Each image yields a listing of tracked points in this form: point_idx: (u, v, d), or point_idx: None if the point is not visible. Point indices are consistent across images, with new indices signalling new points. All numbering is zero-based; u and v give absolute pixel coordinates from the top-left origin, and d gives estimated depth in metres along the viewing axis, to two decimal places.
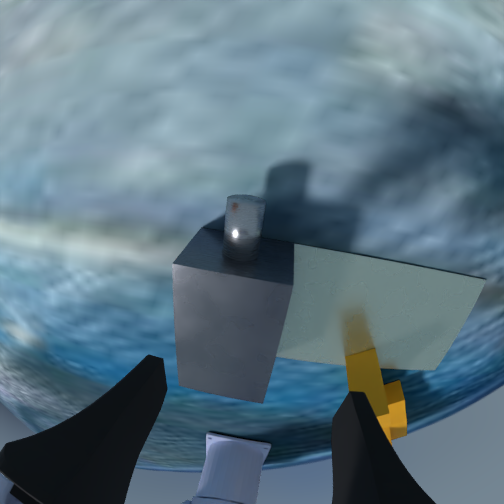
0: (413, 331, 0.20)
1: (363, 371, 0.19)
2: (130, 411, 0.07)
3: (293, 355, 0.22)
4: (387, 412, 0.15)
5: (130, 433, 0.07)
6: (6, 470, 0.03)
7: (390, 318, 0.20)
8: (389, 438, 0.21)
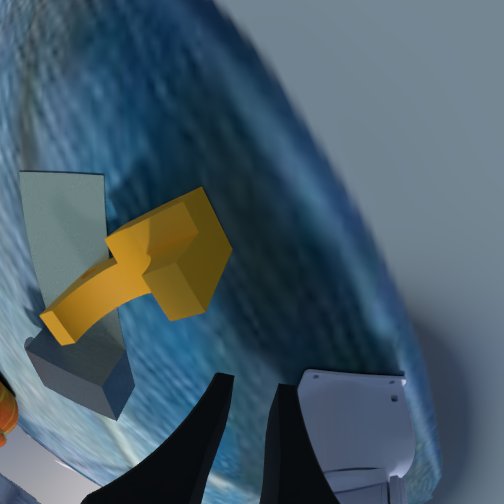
0: (65, 234, 0.20)
1: None
2: (213, 435, 0.07)
3: (119, 333, 0.23)
4: None
5: (209, 457, 0.07)
6: None
7: (62, 260, 0.21)
8: None
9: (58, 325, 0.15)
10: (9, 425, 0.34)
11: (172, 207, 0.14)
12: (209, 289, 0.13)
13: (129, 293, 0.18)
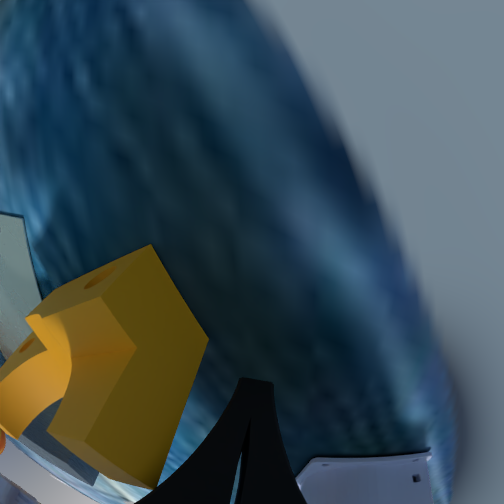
0: (0, 287, 0.12)
1: None
2: (243, 441, 0.07)
3: None
4: None
5: None
6: None
7: (5, 316, 0.14)
8: None
9: None
10: None
11: (86, 303, 0.07)
12: (161, 446, 0.06)
13: None
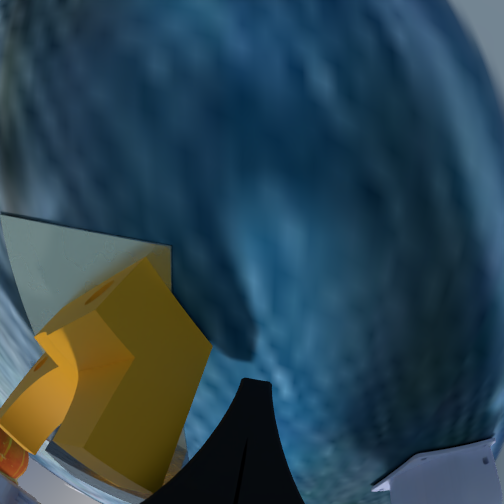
0: None
1: None
2: (246, 441, 0.07)
3: (181, 438, 0.16)
4: None
5: None
6: None
7: None
8: None
9: (11, 435, 0.08)
10: (20, 471, 0.27)
11: (84, 317, 0.07)
12: (164, 452, 0.06)
13: None
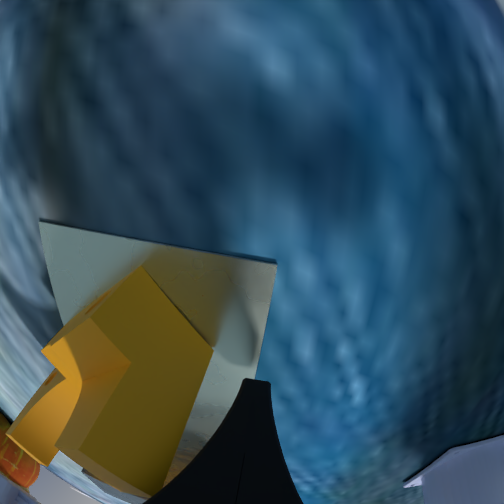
0: None
1: None
2: (247, 442, 0.07)
3: None
4: (7, 433, 0.09)
5: None
6: None
7: None
8: (82, 399, 0.07)
9: (24, 448, 0.08)
10: (31, 480, 0.27)
11: (81, 325, 0.07)
12: (163, 456, 0.06)
13: None
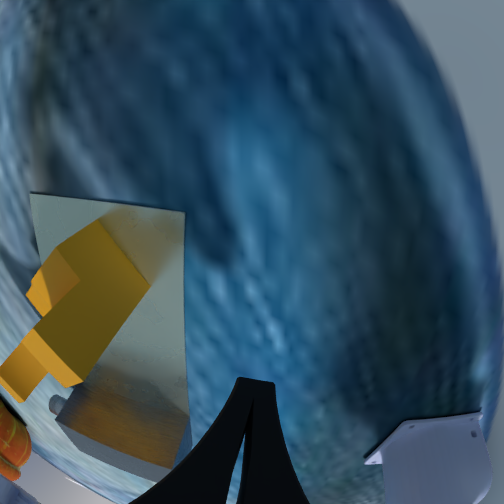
0: None
1: None
2: (240, 441, 0.07)
3: (184, 402, 0.18)
4: None
5: None
6: None
7: None
8: None
9: (7, 385, 0.11)
10: (23, 459, 0.29)
11: (50, 255, 0.10)
12: (94, 350, 0.09)
13: None
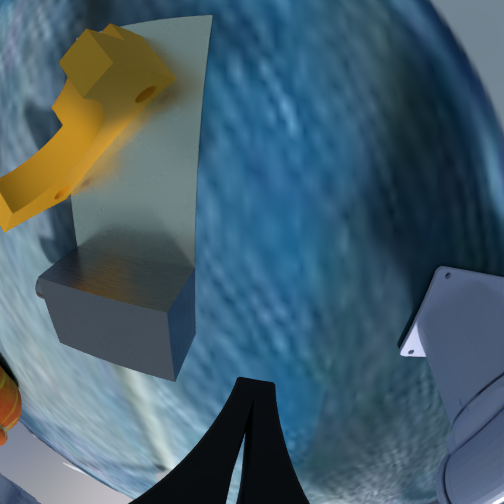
0: None
1: None
2: (240, 440, 0.07)
3: (190, 240, 0.18)
4: None
5: None
6: None
7: (119, 136, 0.16)
8: None
9: None
10: (10, 418, 0.30)
11: (102, 32, 0.10)
12: (127, 62, 0.09)
13: (74, 155, 0.14)
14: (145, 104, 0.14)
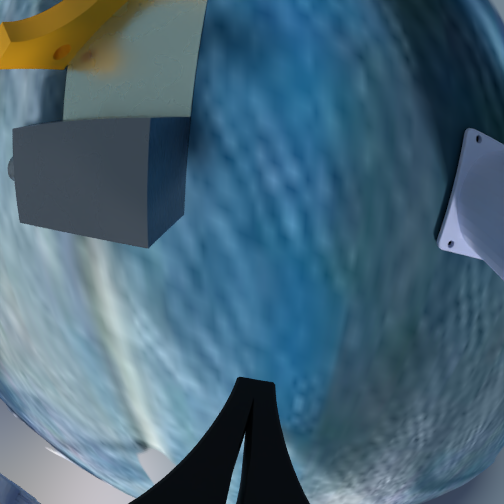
0: None
1: None
2: (240, 440, 0.07)
3: (189, 84, 0.14)
4: None
5: None
6: None
7: (129, 0, 0.11)
8: None
9: (1, 36, 0.07)
10: None
11: None
12: None
13: (86, 5, 0.10)
14: None
